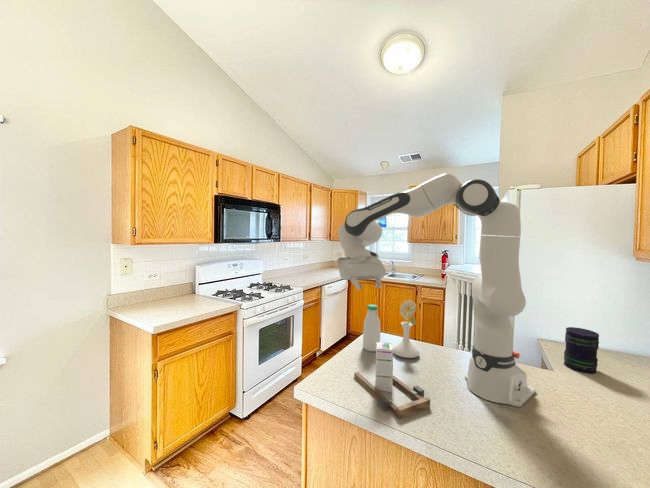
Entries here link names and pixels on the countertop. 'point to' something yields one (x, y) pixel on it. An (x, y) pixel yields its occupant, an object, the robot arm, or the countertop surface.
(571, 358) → the storage jar
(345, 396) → the countertop surface
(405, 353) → the flower in vase
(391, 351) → the syrup box
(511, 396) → the robot arm
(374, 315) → the milk bottle
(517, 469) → the countertop surface
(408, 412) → the beam slot
